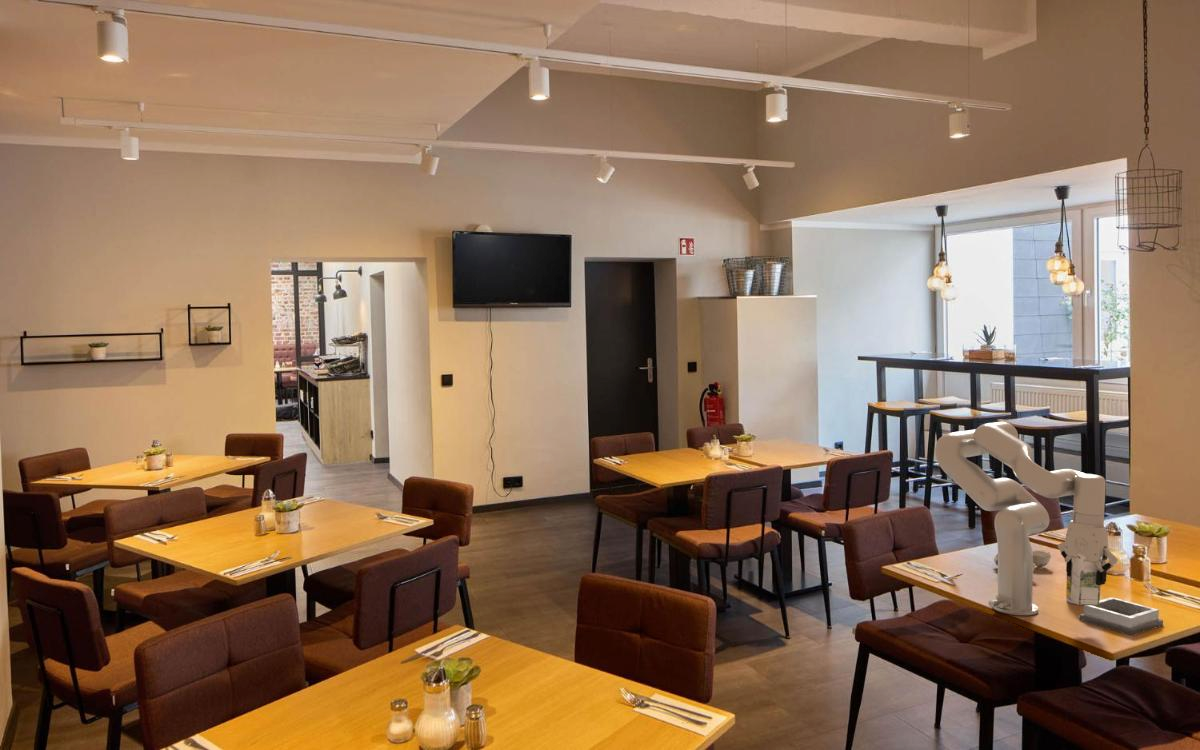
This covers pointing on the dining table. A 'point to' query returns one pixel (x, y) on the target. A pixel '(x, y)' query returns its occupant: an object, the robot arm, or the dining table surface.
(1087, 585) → the syrup box
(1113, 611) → the pocket base
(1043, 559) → the chinaware
